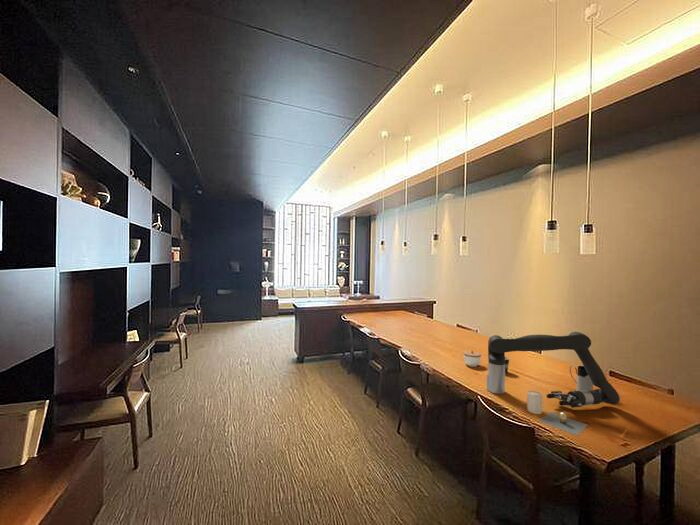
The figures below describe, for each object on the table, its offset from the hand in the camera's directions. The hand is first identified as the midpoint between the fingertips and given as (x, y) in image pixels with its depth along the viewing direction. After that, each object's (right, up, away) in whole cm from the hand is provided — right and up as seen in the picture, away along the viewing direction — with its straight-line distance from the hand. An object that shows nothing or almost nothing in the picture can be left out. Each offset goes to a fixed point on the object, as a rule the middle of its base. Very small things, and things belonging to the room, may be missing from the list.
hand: (553, 399), depth 166 cm
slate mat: (-4, -6, -13) cm, 15 cm away
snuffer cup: (-11, -6, -2) cm, 12 cm away
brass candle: (-4, -5, -13) cm, 15 cm away
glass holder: (+34, -6, +26) cm, 43 cm away
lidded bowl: (-15, -6, +72) cm, 74 cm away
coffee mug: (0, -6, +58) cm, 58 cm away
